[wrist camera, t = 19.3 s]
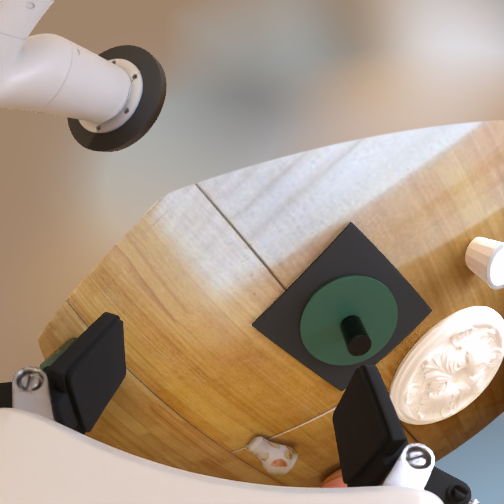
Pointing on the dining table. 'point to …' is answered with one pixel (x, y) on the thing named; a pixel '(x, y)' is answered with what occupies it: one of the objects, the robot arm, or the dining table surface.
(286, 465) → the mug
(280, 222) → the dining table surface
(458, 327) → the ceiling medallion
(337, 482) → the vase
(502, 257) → the white lidded cup
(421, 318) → the mat
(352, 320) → the lid
